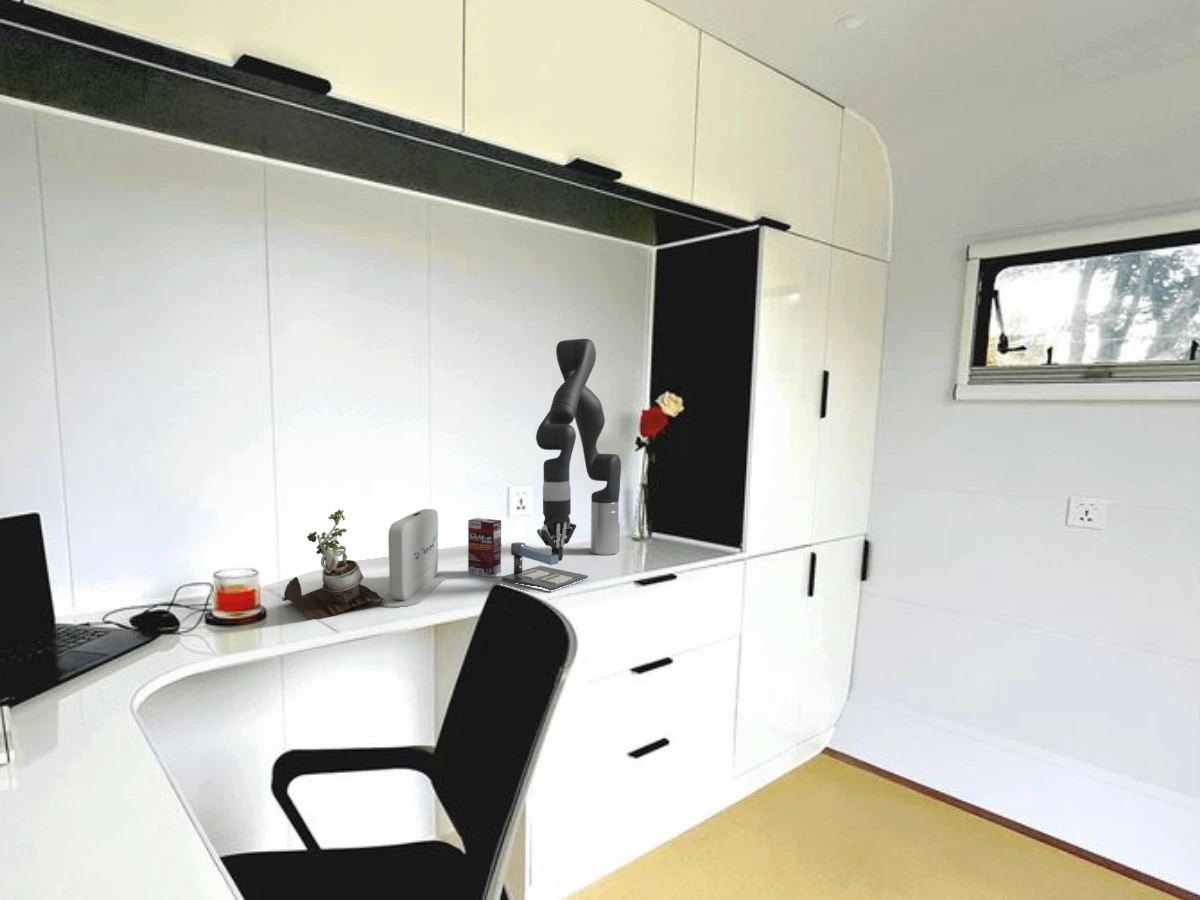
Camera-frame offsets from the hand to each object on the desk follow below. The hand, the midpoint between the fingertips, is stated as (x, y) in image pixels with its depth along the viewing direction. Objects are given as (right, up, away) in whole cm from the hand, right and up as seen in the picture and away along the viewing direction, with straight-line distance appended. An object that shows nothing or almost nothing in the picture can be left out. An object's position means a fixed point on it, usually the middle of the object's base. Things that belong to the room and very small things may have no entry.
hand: (557, 560), depth 172 cm
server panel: (-4, -6, +5) cm, 9 cm away
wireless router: (-37, -7, -6) cm, 38 cm away
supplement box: (-22, -6, +11) cm, 25 cm away
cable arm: (-7, 0, +2) cm, 7 cm away
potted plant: (-53, -7, -20) cm, 57 cm away
